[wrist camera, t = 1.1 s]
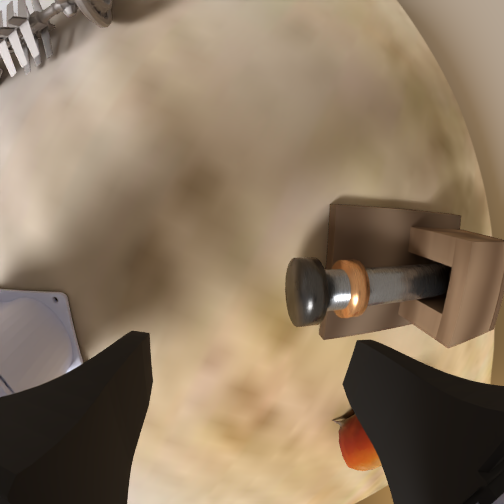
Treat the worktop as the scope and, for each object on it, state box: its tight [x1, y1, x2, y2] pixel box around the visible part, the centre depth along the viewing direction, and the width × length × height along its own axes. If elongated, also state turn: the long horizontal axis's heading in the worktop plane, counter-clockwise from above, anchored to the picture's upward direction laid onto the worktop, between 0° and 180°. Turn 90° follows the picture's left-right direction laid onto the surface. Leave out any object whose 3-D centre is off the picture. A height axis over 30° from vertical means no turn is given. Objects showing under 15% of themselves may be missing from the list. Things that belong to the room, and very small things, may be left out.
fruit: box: [333, 414, 381, 471], centre depth 22 cm, size 8×8×8 cm
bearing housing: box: [319, 204, 504, 348], centre depth 18 cm, size 14×10×8 cm
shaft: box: [285, 257, 450, 327], centre depth 17 cm, size 12×4×4 cm, turn 88°
